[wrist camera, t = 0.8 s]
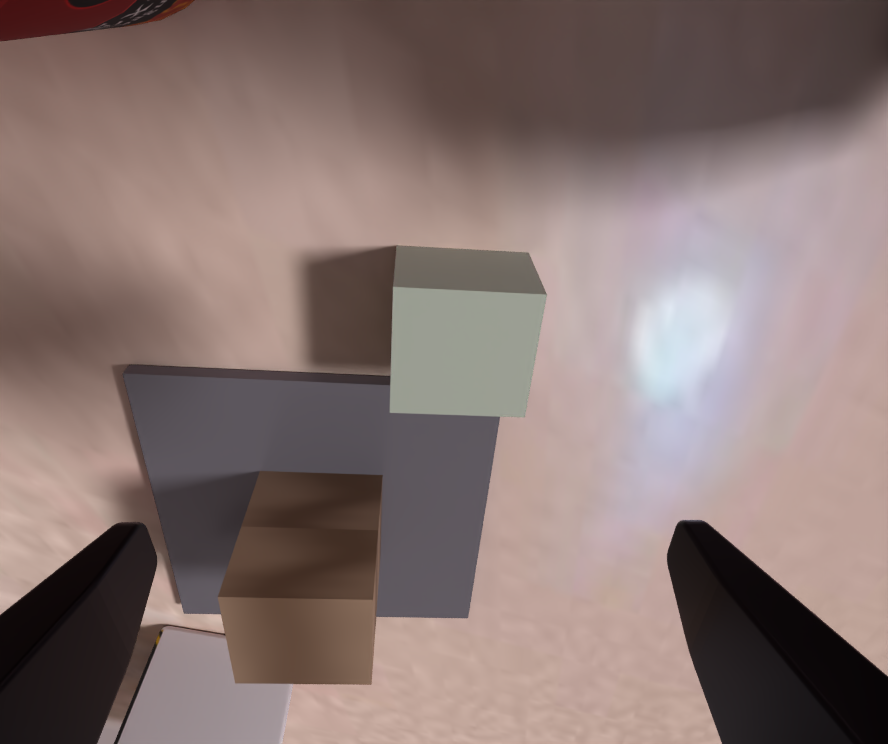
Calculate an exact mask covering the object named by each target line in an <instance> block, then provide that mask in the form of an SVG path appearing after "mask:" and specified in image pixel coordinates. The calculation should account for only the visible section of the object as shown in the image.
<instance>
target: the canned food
mask: <svg viewBox="0 0 888 744" xmlns="http://www.w3.org/2000/svg"><path fill="white" fill-rule="evenodd" d="M193 1H194V0H0V41H7V40H16V39H24V38H32V37H41V36H49V35H57V34H66V33H74V32H82V31H91V30H99V29H107V28H116V27H124V26H132V25H138V24H143V23H148V22H153V21H158V20H162V19H164V18H166V17H168V16H170V15H172V14H174V13H176V12H178V11H180V10H182V9H185V8H186V7H187V6H189V5H190V4H191V3H192V2H193Z"/></svg>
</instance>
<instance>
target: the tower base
mask: <svg viewBox="0 0 888 744" xmlns="http://www.w3.org/2000/svg"><path fill="white" fill-rule="evenodd" d="M382 481H383V475H367V474H337V473H307V472H277V471H260V472H259V475H258V478H257V481H256V484H255V487H254V490H253V493H252V496H251V499H250V502H249V505H248V508H247V511H246V514H245V517H244V520H243V523H242V526H241V527H274V528H312V529H349V530H378V567H377V598H378V583H379V569H380V552H381V516H382ZM376 612H377V608H376Z"/></svg>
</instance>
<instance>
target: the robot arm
mask: <svg viewBox="0 0 888 744" xmlns="http://www.w3.org/2000/svg"><path fill="white" fill-rule="evenodd" d="M667 564H668V569H669V573H670V577H671V581H672V585H673V589H674V593H675V597H676V601H677V605H678V609H679V614H680V618H681V622H682V626H683V630H684V634H685V638H686V642H687V645H688V649H689V652H690V655H691V658H692V661H693V664H694V667H695V670H696V673H697V676H698V678H699V681H700V684H701V687H702V689H703V692H704V695H705V698H706V700H707V703H708V706H709V709H710V711H711V714H712V717H713V720H714V722H715V725H716V728H717V731H718V733H719V736H720V739H721V742H722V744H888V676H887V675H886V674H884V673H883V672H882V671H881V670H880V669H879V668H877V667H876V666H875V665H874V664H873V663H872V662H870V661H869V660H868V659H867V658H866V657H864V656H863V655H862V654H861V653H860V652H859V651H857V650H856V649H855V648H854V647H853V646H852V645H850V644H849V643H848V642H847V641H846V640H844V639H843V638H842V637H841V636H840V635H839V634H837V633H836V632H835V631H834V630H833V629H832V628H830V627H829V626H828V625H827V624H826V623H824V622H823V621H822V620H821V619H820V618H819V617H817V616H816V615H815V614H814V613H813V612H812V611H810V610H809V609H808V608H807V607H806V606H804V605H803V604H802V603H801V602H800V601H799V600H797V599H796V598H795V597H794V596H793V595H792V594H790V593H789V592H788V591H787V590H786V589H784V588H783V587H782V586H781V585H780V584H779V583H777V582H776V581H775V580H774V579H773V578H772V577H770V576H769V575H768V574H767V573H766V572H764V571H763V570H762V569H761V568H760V567H759V566H757V565H756V564H755V563H754V562H753V561H752V560H750V559H749V558H748V557H747V556H746V555H744V554H743V553H742V552H741V551H740V550H739V549H737V548H736V547H735V546H734V545H733V544H732V543H730V542H729V541H728V540H727V539H726V538H724V537H723V536H722V535H721V534H720V533H719V532H717V531H716V530H715V529H714V528H713V527H712V526H710V525H709V524H708V523H706V522H705V521H702V520H682V521H680V522H679V523H678V524H677V526H676V528H675V531H674V534H673V537H672V540H671V543H670V546H669V549H668V553H667ZM156 567H157V555H156V552H155V549H154V546H153V544H152V541H151V538H150V535H149V533H148V530H147V528H146V526H145V525H144V524H143V523H140V522H122V523H117V524H115V525H113V526H112V527H111V528H109V529H108V530H107V531H106V532H104V533H103V534H102V535H101V536H99V537H98V538H97V539H95V540H94V541H93V542H92V543H90V544H89V545H88V546H87V547H85V548H84V549H83V550H82V551H80V552H79V553H78V554H77V555H75V556H74V557H73V558H71V559H70V560H69V561H68V562H66V563H65V564H64V565H63V566H61V567H60V568H59V569H58V570H56V571H55V572H54V573H53V574H51V575H50V576H49V577H47V578H46V579H45V580H44V581H42V582H41V583H40V584H39V585H37V586H36V587H35V588H34V589H32V590H31V591H30V592H29V593H27V594H26V595H25V596H23V597H22V598H21V599H20V600H18V601H17V602H16V603H15V604H13V605H12V606H11V607H10V608H8V609H7V610H6V611H5V612H3V613H2V614H1V615H0V744H97V743H98V740H99V738H100V735H101V733H102V730H103V728H104V725H105V723H106V720H107V717H108V715H109V712H110V710H111V707H112V705H113V702H114V700H115V697H116V695H117V692H118V690H119V687H120V685H121V682H122V680H123V677H124V675H125V672H126V670H127V667H128V664H129V662H130V659H131V656H132V653H133V649H134V646H135V643H136V639H137V636H138V632H139V629H140V625H141V621H142V618H143V614H144V611H145V607H146V604H147V600H148V596H149V593H150V589H151V586H152V582H153V579H154V575H155V571H156Z"/></svg>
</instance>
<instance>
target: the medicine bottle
mask: <svg viewBox="0 0 888 744" xmlns="http://www.w3.org/2000/svg"><path fill="white" fill-rule="evenodd" d="M292 688H293V684H244V683H235V680H234V675H233V670H232V665H231V661H230V656H229V651H228V646H227V641H226V636H225V635H221V634H215V633H209V632H203V631H197V630H191V629H185V628H179V627H173V626H166V627H163V628H162V630H161V631H160V632H159V635H158V637H157V640H156V642H155V645H154V647H153V649H152V652H151V654H150V657H149V659H148V662H147V664H146V667H145V669H144V671H143V674H142V676H141V679H140V681H139V684H138V686H137V688H136V691H135V693H134V696H133V698H132V701H131V703H130V706H129V708H128V710H127V713H126V715H125V718H124V720H123V723H122V725H121V727H120V730H119V732H118V735H117V738H116V740H115V742H114V744H282V742H283V737H284V731H285V726H286V720H287V715H288V710H289V704H290V699H291V693H292Z"/></svg>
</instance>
